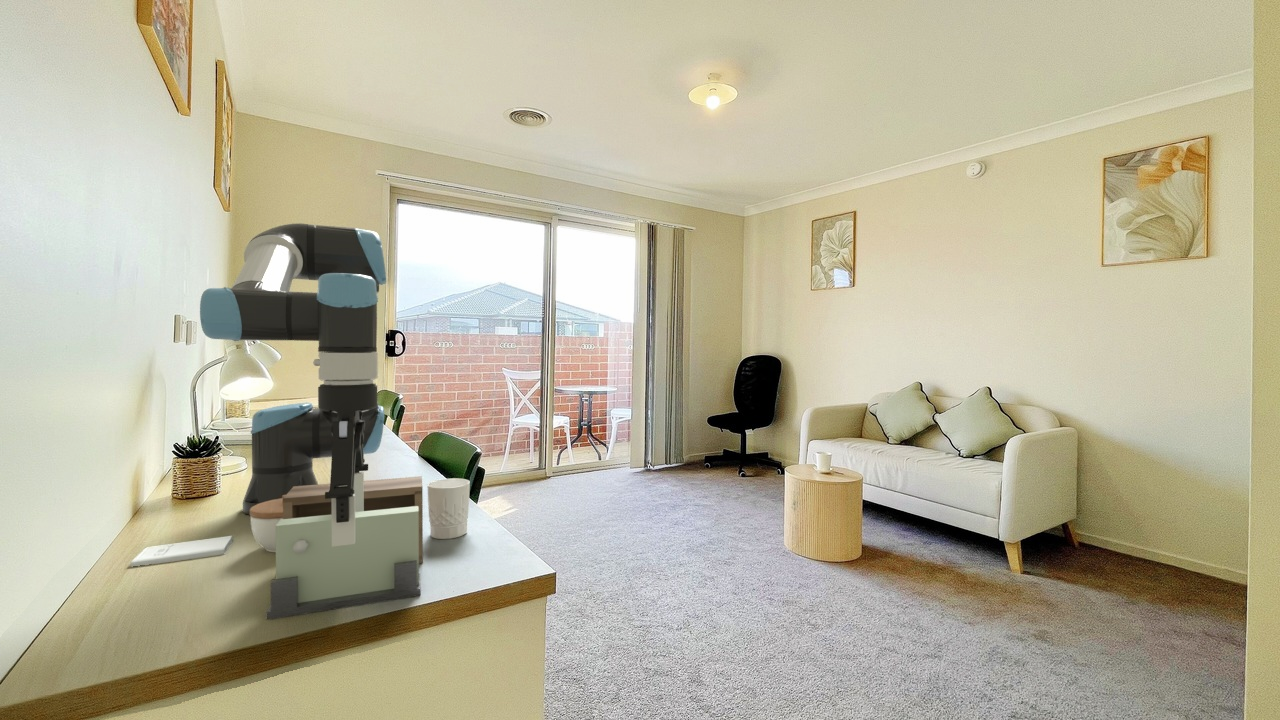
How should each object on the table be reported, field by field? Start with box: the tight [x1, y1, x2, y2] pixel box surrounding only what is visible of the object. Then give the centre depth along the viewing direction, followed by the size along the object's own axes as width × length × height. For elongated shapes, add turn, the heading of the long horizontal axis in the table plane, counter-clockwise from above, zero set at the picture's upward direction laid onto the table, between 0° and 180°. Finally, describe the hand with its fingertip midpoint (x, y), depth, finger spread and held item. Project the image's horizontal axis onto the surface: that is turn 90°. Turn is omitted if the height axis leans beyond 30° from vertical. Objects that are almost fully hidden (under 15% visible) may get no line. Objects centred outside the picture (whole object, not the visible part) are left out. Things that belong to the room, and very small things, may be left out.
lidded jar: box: [249, 495, 286, 553], centre depth 99 cm, size 11×11×9 cm
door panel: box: [275, 506, 420, 603], centre depth 78 cm, size 18×4×11 cm, turn 113°
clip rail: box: [266, 560, 422, 621], centre depth 79 cm, size 6×19×5 cm, turn 113°
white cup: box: [426, 477, 471, 540], centre depth 106 cm, size 8×8×10 cm
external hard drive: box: [130, 535, 234, 568], centre depth 96 cm, size 2×8×12 cm
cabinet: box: [283, 475, 424, 564], centre depth 91 cm, size 8×20×13 cm, turn 113°
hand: (349, 528), depth 79 cm, fingers open, 13 cm apart
